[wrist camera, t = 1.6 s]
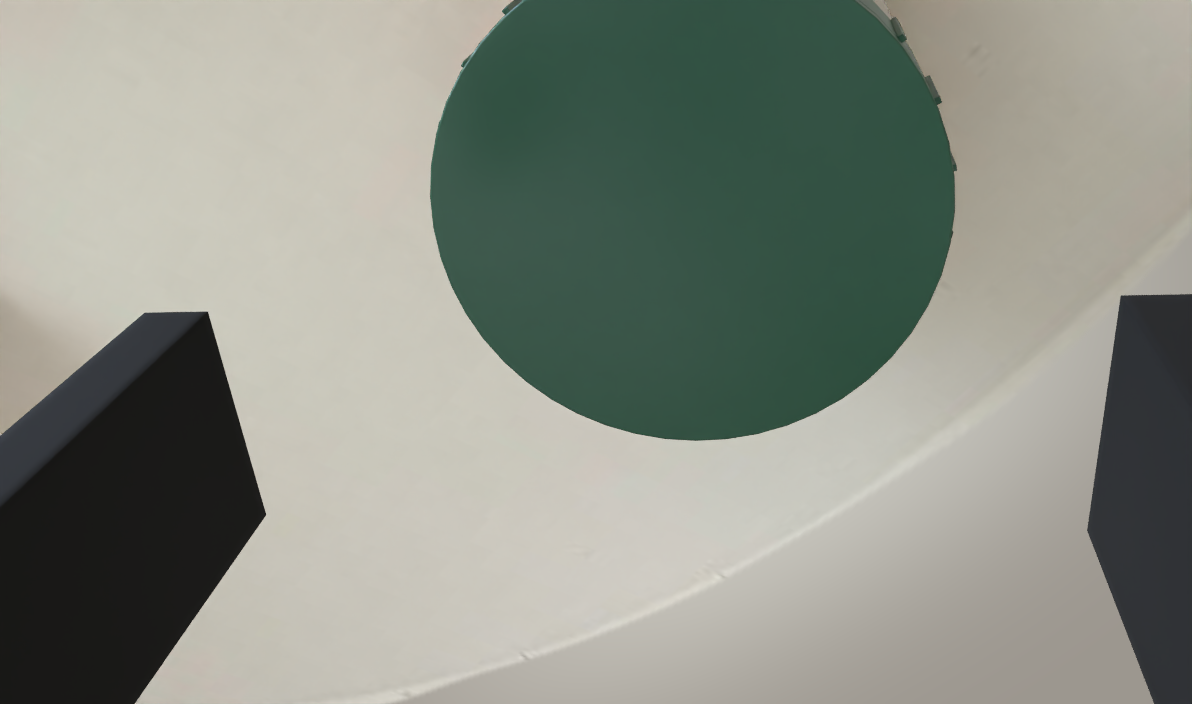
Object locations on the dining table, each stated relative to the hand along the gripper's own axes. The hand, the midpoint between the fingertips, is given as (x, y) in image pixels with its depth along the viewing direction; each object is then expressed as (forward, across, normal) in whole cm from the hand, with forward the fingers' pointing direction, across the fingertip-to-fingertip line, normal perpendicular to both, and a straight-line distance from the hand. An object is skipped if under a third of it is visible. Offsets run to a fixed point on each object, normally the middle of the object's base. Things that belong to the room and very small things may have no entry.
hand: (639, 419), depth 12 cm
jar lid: (+7, 0, 0) cm, 7 cm away
